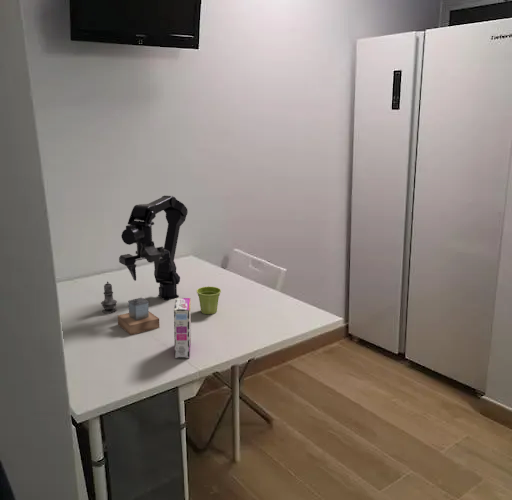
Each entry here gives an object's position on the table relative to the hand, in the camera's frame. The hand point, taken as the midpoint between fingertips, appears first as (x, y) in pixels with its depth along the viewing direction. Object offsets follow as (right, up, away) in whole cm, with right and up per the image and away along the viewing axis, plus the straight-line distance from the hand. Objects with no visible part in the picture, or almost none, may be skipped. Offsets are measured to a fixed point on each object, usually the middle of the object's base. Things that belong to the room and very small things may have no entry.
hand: (146, 278), depth 199 cm
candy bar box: (+19, -22, -30) cm, 42 cm away
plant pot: (+24, -13, +3) cm, 27 cm away
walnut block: (0, -17, -11) cm, 21 cm away
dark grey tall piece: (-14, -13, +2) cm, 20 cm away
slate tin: (0, -13, -12) cm, 18 cm away
